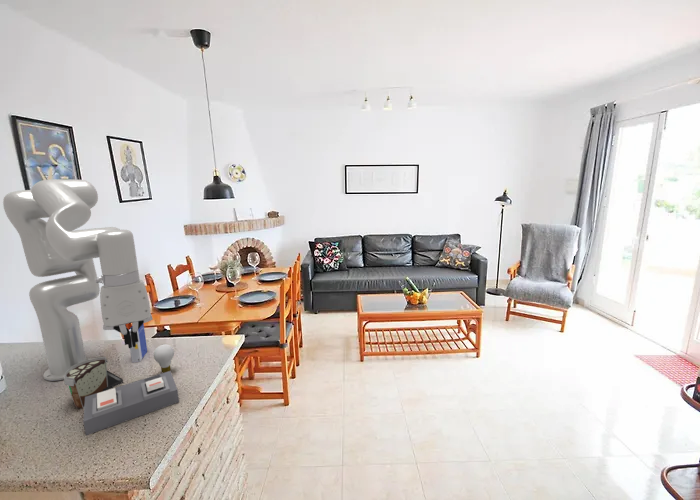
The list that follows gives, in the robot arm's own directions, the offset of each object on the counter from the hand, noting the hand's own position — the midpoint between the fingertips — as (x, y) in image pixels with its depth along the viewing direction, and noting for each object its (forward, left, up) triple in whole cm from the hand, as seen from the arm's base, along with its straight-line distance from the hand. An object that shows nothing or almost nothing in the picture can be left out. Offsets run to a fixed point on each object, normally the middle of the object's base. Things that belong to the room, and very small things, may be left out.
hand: (132, 345), depth 86 cm
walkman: (-35, +2, -20) cm, 40 cm away
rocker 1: (-2, -7, -14) cm, 16 cm away
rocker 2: (-2, +4, -14) cm, 15 cm away
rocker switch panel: (-4, -2, -20) cm, 20 cm away
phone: (-25, -10, -20) cm, 34 cm away
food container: (-17, -13, -20) cm, 29 cm away
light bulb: (-17, +8, -20) cm, 27 cm away
